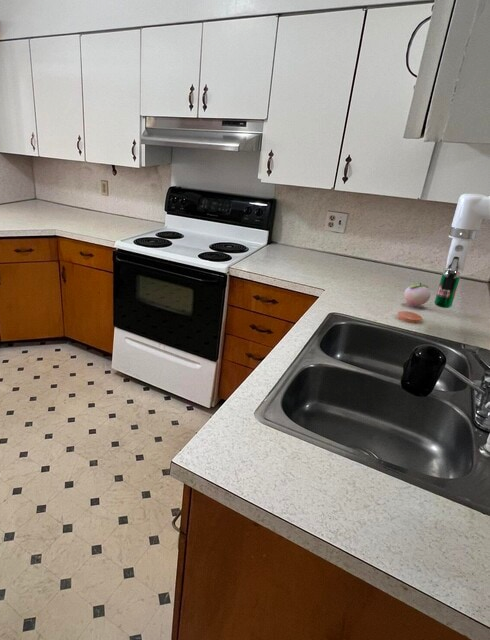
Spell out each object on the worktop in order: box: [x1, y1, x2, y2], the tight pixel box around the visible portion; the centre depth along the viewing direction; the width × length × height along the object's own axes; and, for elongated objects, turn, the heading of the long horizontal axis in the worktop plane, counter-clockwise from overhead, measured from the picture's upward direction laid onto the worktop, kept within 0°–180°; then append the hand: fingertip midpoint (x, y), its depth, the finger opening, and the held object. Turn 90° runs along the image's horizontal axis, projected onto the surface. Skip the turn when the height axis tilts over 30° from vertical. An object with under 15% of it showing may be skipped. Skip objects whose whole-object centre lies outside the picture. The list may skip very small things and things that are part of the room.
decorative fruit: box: [403, 282, 432, 307], centre depth 168 cm, size 9×8×10 cm
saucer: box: [396, 310, 423, 324], centre depth 157 cm, size 8×8×1 cm
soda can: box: [433, 269, 461, 309], centre depth 143 cm, size 5×5×12 cm
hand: (447, 286), depth 142 cm, fingers closed on soda can, 5 cm apart
